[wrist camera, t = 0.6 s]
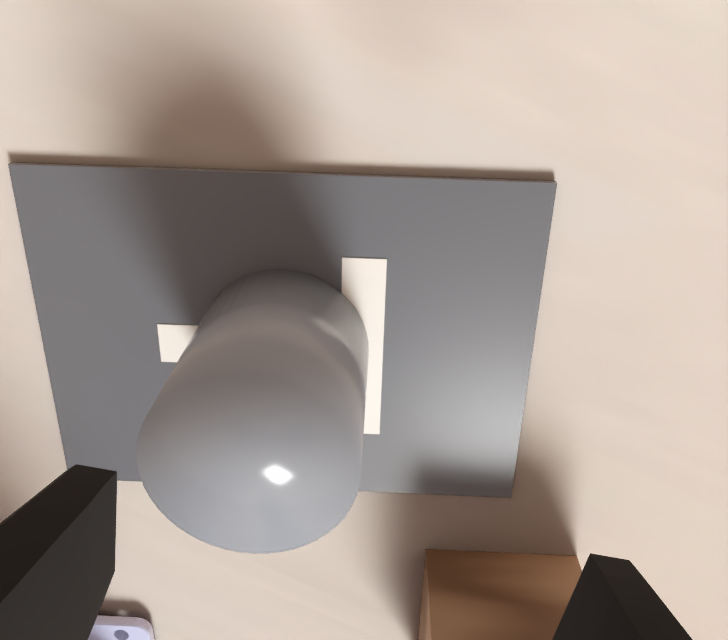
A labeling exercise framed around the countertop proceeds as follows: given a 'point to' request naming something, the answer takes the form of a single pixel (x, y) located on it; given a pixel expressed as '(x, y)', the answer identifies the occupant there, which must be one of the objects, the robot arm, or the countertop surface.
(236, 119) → the countertop surface
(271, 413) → the grey jar
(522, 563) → the walnut cube
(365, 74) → the countertop surface
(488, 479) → the letter card
